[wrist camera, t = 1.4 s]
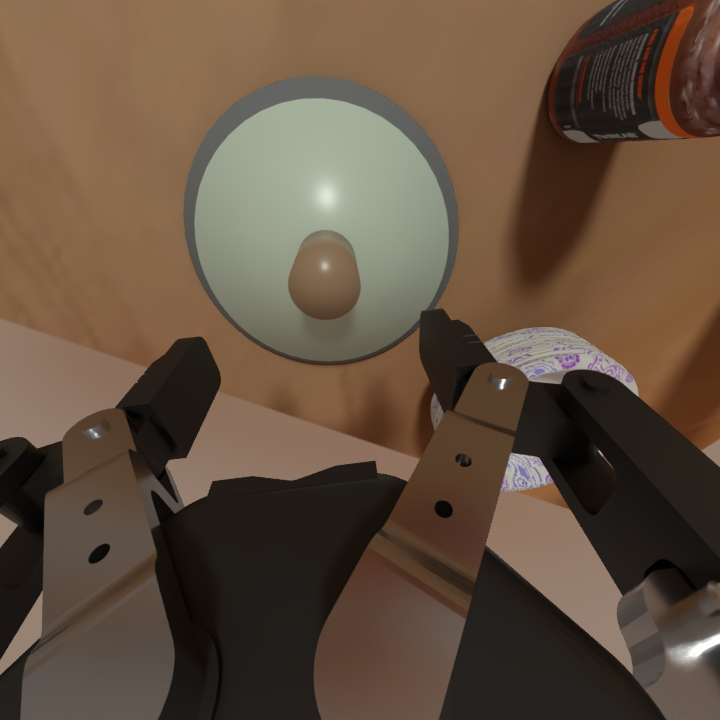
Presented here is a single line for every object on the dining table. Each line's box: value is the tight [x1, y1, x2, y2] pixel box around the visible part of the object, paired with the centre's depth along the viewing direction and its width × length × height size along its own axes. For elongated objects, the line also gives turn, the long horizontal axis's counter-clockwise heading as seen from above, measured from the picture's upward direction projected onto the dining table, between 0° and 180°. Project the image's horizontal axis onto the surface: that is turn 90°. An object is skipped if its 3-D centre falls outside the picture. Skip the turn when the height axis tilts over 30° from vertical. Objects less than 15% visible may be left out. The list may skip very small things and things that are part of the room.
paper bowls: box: [431, 327, 639, 491], centre depth 27 cm, size 15×15×8 cm
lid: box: [194, 98, 449, 361], centre depth 19 cm, size 17×17×6 cm
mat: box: [184, 76, 459, 364], centre depth 22 cm, size 19×19×1 cm
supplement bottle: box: [548, 0, 720, 144], centre depth 13 cm, size 6×6×11 cm
